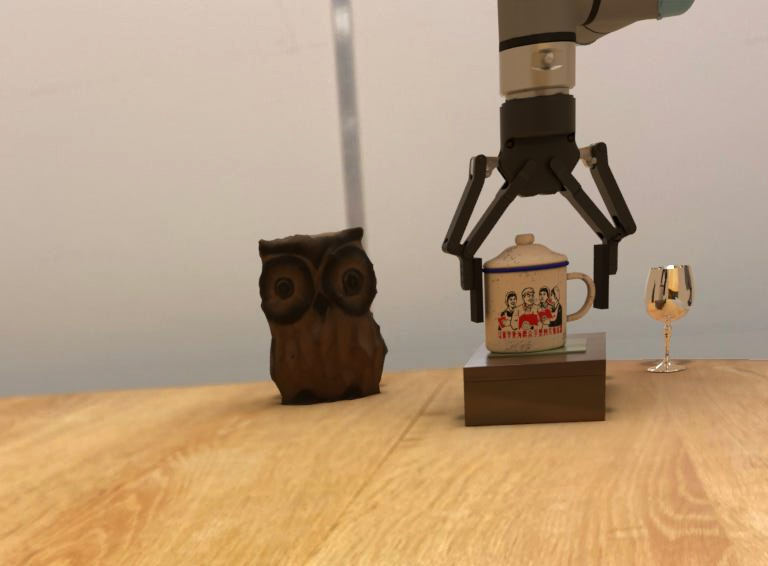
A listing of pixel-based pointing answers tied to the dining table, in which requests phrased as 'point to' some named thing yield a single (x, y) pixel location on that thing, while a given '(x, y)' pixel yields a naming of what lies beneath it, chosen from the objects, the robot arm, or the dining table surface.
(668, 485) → the dining table surface
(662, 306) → the wineglass
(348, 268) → the owl
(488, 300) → the teacup with lid
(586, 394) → the wooden keepsake box
